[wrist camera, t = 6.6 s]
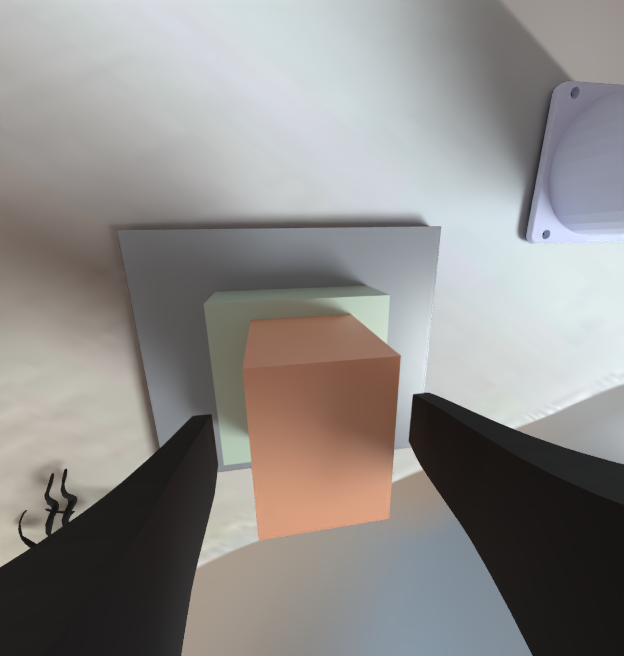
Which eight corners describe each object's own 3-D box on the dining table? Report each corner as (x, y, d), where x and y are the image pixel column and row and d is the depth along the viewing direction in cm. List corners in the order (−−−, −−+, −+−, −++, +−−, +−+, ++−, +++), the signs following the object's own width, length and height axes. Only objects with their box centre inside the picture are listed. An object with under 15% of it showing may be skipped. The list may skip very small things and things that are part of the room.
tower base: (431, 227, 17) (480, 223, 13) (411, 437, 21) (444, 481, 17) (126, 230, 14) (76, 227, 10) (171, 466, 18) (147, 525, 14)
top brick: (351, 314, 13) (400, 355, 8) (348, 429, 15) (389, 518, 10) (250, 319, 12) (242, 368, 8) (260, 439, 14) (258, 540, 9)
